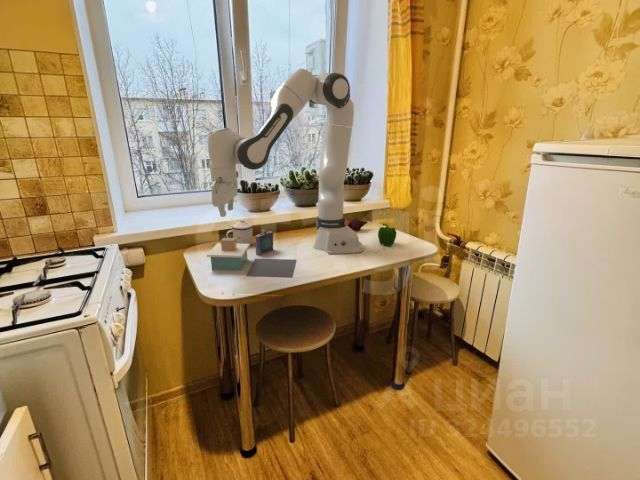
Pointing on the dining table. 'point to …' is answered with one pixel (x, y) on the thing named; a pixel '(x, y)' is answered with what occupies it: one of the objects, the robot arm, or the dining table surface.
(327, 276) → the dining table surface
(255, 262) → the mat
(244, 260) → the teal open box
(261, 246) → the flask
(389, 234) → the bell pepper
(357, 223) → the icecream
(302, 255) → the dining table surface
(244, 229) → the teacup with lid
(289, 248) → the dining table surface
